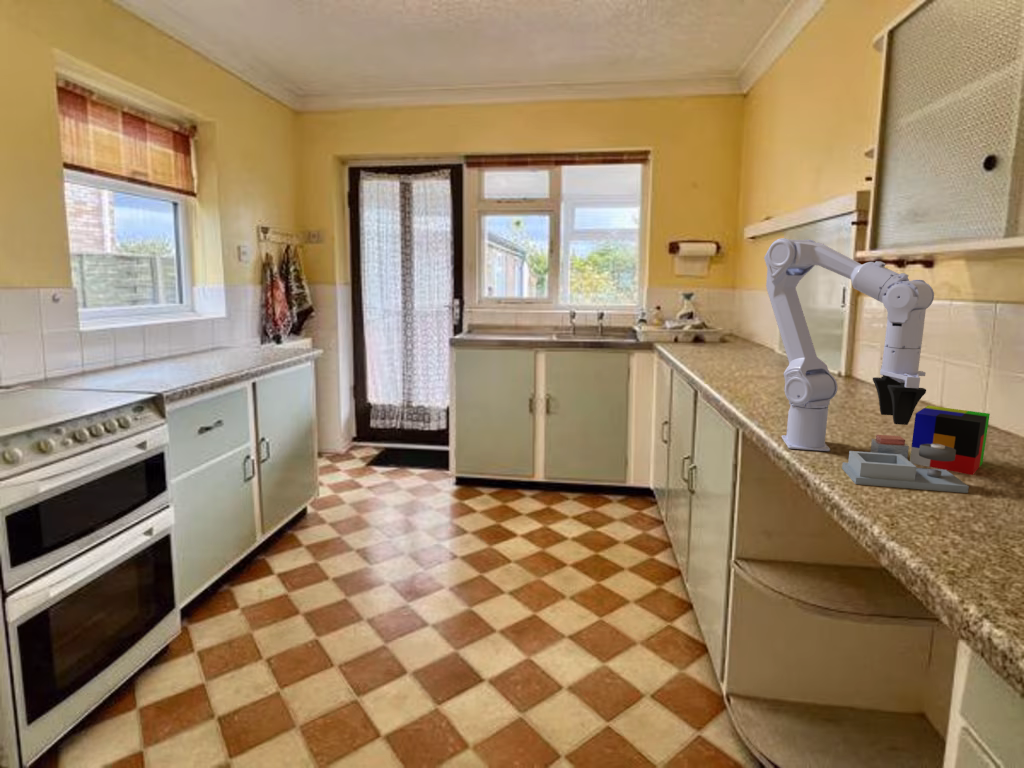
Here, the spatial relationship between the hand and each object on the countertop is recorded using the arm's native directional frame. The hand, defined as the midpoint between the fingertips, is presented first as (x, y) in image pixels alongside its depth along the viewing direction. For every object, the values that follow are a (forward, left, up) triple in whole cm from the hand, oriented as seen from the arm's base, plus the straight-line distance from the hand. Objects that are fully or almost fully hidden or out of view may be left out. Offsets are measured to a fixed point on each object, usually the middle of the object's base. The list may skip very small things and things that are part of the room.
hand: (893, 419), depth 114 cm
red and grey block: (0, 0, -10) cm, 10 cm away
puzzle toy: (-6, +12, -10) cm, 17 cm away
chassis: (+7, 0, -9) cm, 12 cm away
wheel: (+7, +5, -5) cm, 10 cm away
